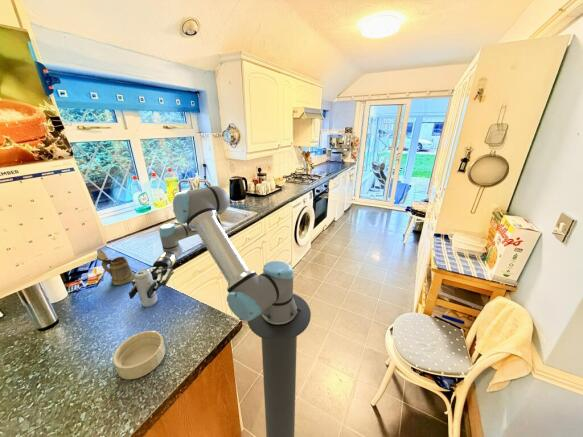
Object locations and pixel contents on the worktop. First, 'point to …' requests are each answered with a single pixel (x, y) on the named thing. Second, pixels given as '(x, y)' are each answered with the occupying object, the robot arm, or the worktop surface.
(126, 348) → the bowl
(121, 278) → the wooden mug
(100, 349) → the worktop surface
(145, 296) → the energy drink can
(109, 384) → the worktop surface
